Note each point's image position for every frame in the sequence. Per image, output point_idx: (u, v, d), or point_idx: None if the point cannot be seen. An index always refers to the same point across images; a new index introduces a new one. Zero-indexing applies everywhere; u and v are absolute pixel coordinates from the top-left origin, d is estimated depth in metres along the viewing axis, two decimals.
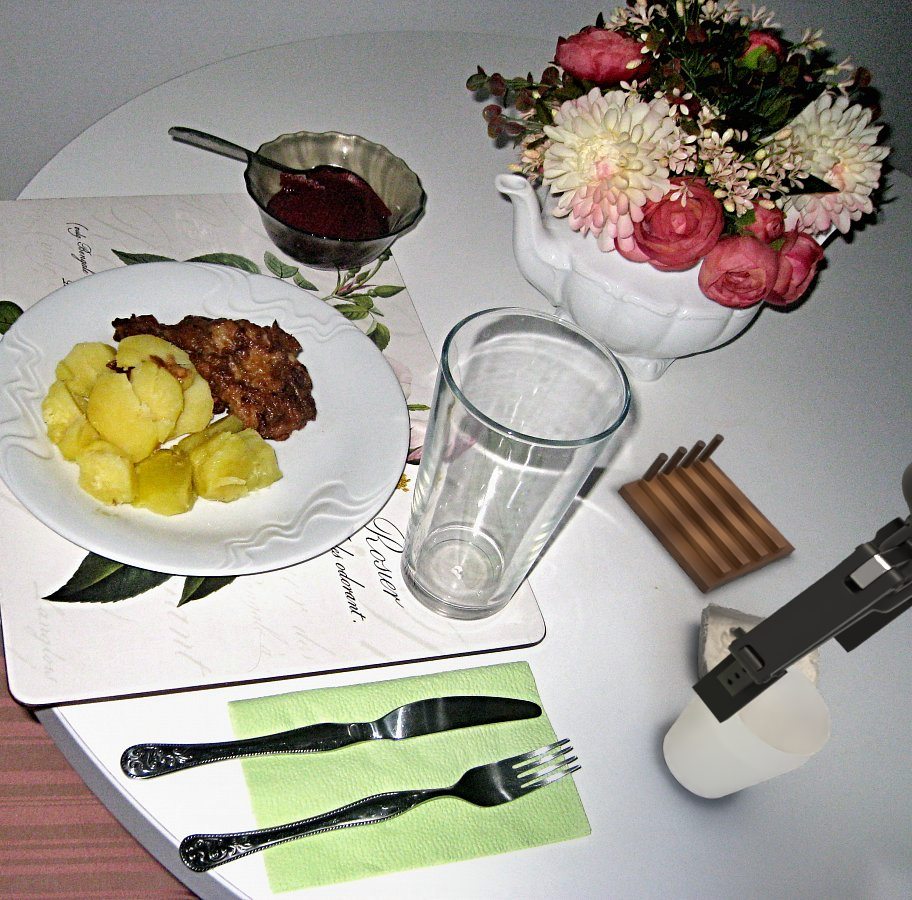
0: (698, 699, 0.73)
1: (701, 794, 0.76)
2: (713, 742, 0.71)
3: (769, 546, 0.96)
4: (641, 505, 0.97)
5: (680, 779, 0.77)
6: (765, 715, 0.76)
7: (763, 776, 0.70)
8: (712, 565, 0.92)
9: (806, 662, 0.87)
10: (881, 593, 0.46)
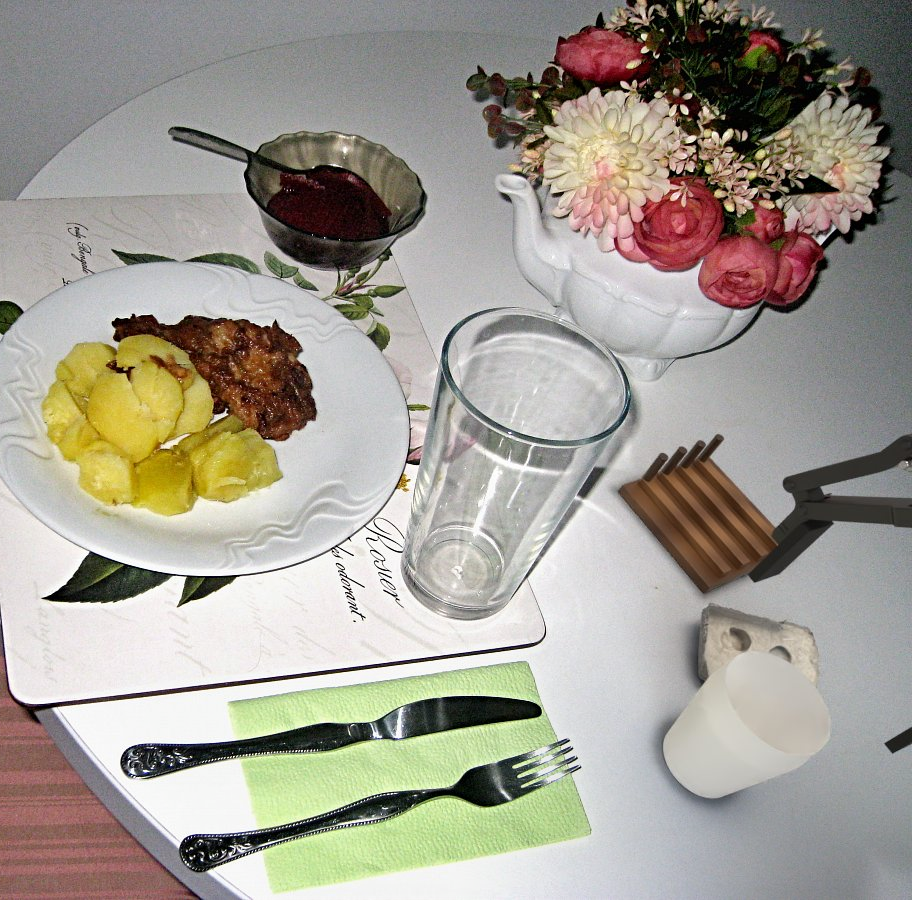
0: (698, 699, 0.73)
1: (701, 794, 0.76)
2: (713, 742, 0.71)
3: (769, 546, 0.96)
4: (641, 505, 0.97)
5: (680, 779, 0.77)
6: (765, 715, 0.76)
7: (763, 776, 0.70)
8: (712, 565, 0.92)
9: (806, 662, 0.87)
10: None
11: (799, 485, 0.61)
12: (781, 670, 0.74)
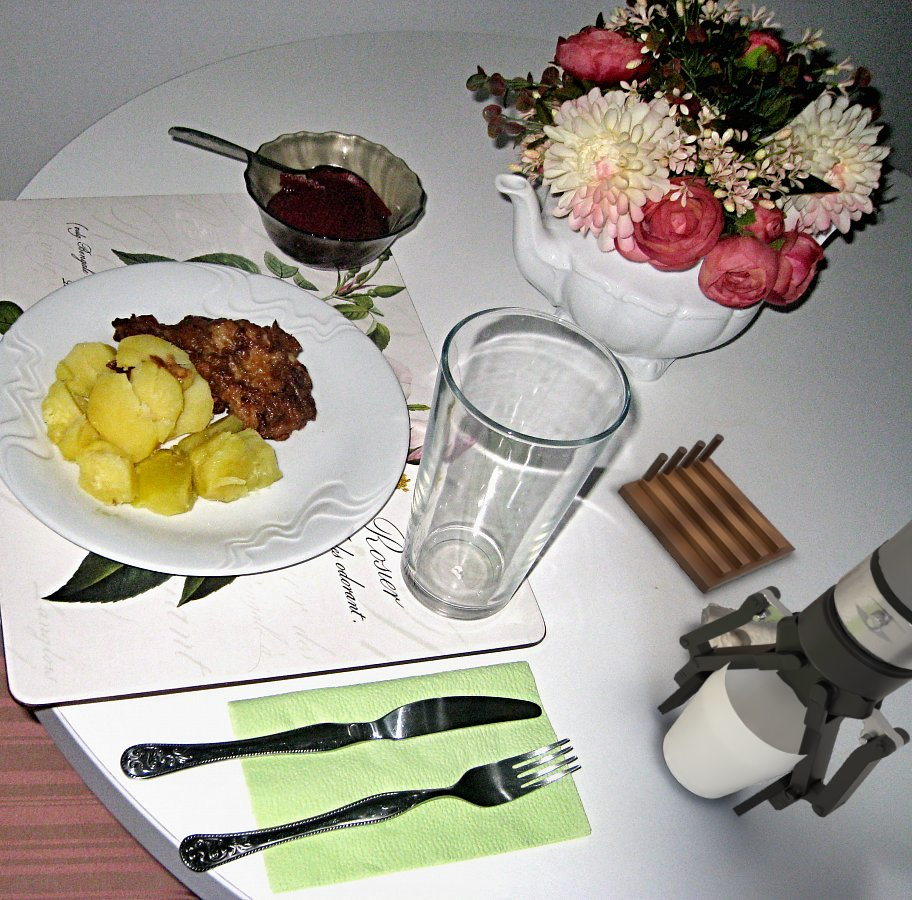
0: (698, 699, 0.73)
1: (701, 794, 0.76)
2: (713, 742, 0.71)
3: (769, 546, 0.96)
4: (641, 505, 0.97)
5: (680, 779, 0.77)
6: (765, 715, 0.76)
7: (763, 776, 0.70)
8: (712, 565, 0.92)
9: None
10: None
11: (691, 642, 0.75)
12: None
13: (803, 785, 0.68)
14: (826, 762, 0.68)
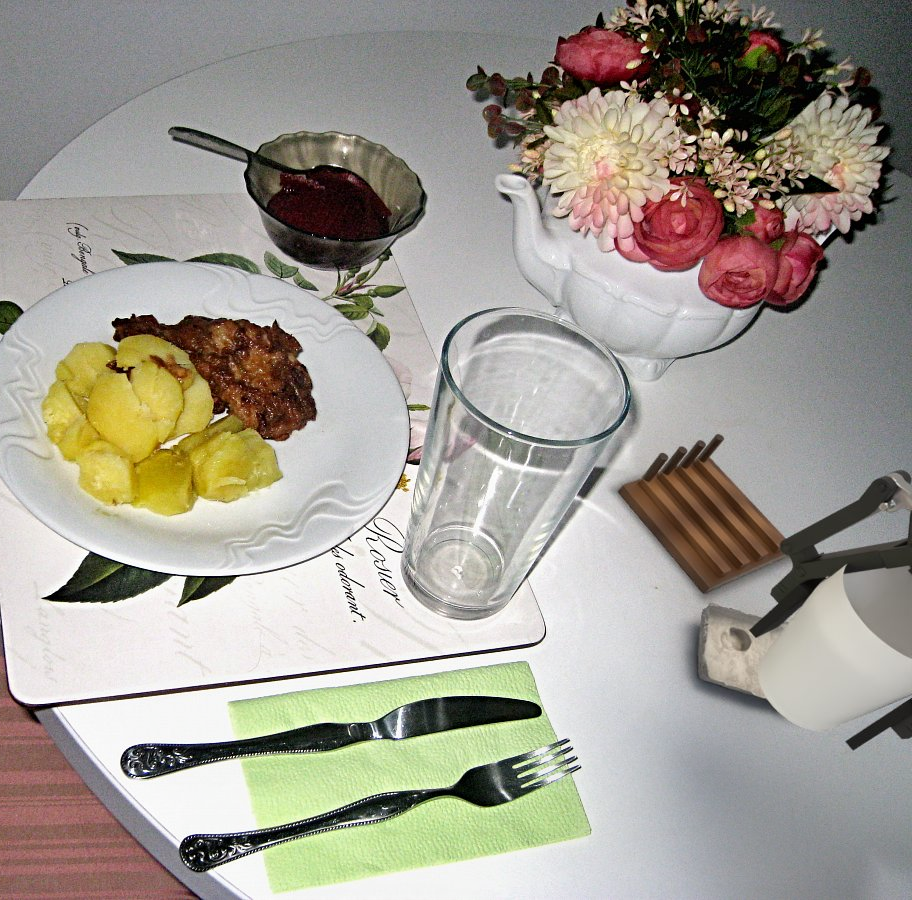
0: (806, 611, 0.63)
1: (806, 725, 0.65)
2: (829, 658, 0.60)
3: (769, 546, 0.96)
4: (641, 505, 0.97)
5: (780, 709, 0.66)
6: (880, 633, 0.66)
7: (889, 697, 0.60)
8: (712, 565, 0.92)
9: None
10: None
11: (795, 546, 0.64)
12: (902, 578, 0.63)
13: None
14: None
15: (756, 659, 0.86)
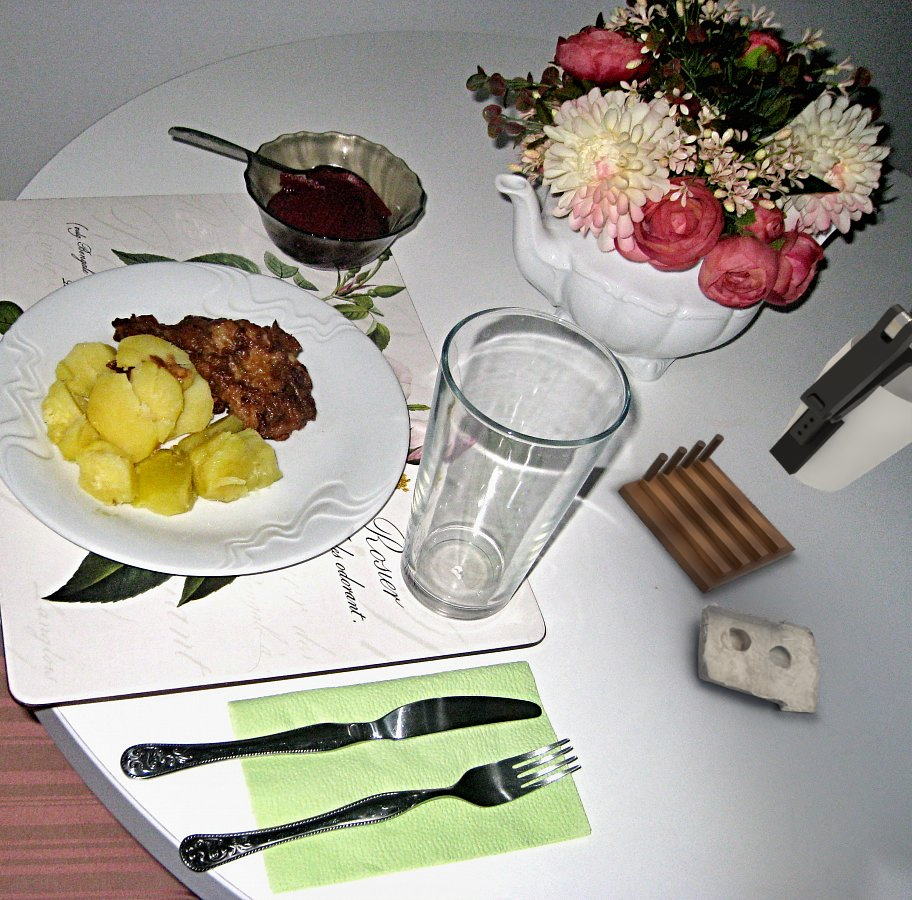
0: (869, 433, 0.71)
1: None
2: (909, 441, 0.71)
3: (769, 546, 0.96)
4: (641, 505, 0.97)
5: None
6: None
7: None
8: (712, 565, 0.92)
9: (806, 662, 0.87)
10: None
11: (835, 410, 0.69)
12: (841, 349, 0.73)
13: None
14: None
15: (756, 659, 0.86)
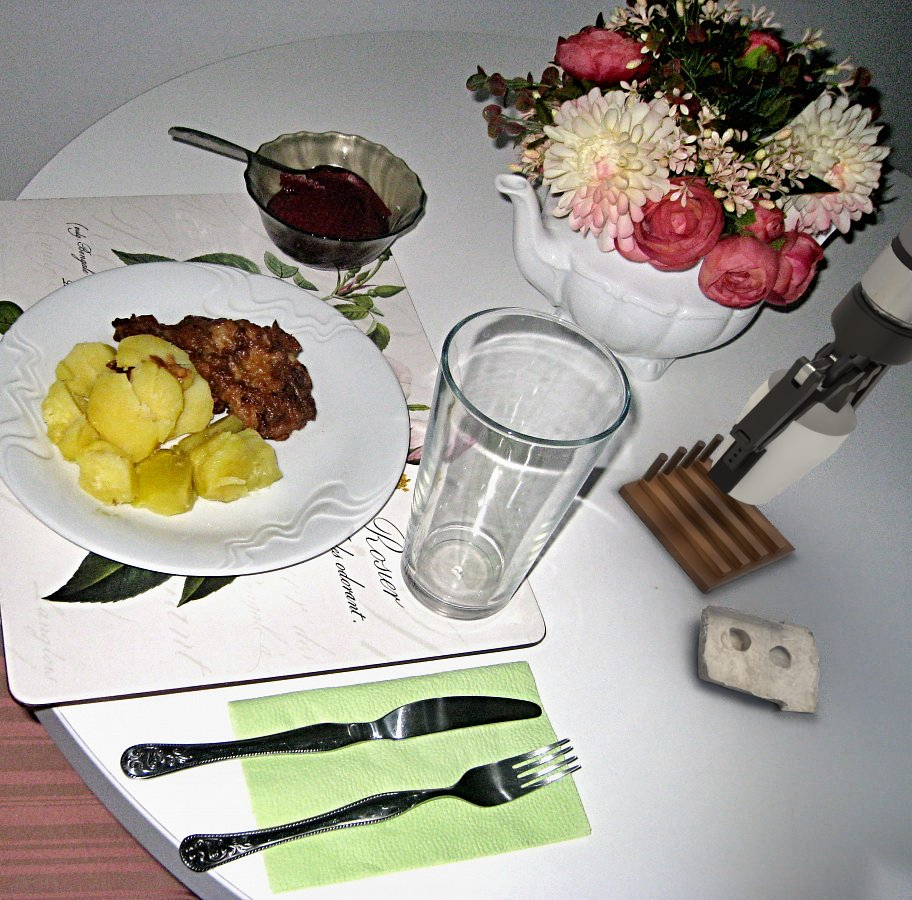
0: (787, 458, 0.84)
1: None
2: (820, 462, 0.85)
3: (769, 546, 0.96)
4: (641, 505, 0.97)
5: (770, 499, 0.91)
6: None
7: None
8: (712, 565, 0.92)
9: (806, 661, 0.87)
10: None
11: (759, 443, 0.82)
12: (760, 386, 0.86)
13: None
14: None
15: (756, 659, 0.86)
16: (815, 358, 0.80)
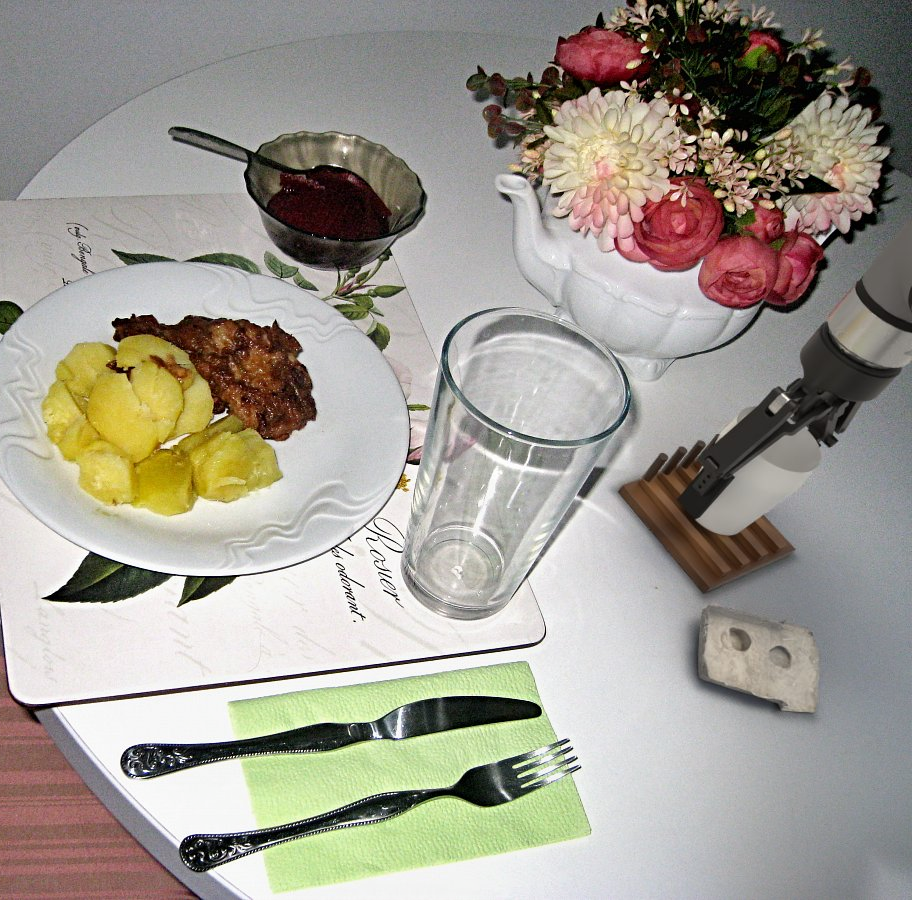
0: (755, 493, 0.88)
1: None
2: (787, 496, 0.89)
3: (769, 546, 0.96)
4: (641, 505, 0.97)
5: (741, 530, 0.95)
6: None
7: (793, 472, 0.92)
8: (712, 565, 0.92)
9: (806, 661, 0.87)
10: None
11: (726, 470, 0.83)
12: (730, 423, 0.90)
13: (831, 433, 0.91)
14: None
15: (756, 659, 0.86)
16: (786, 391, 0.83)
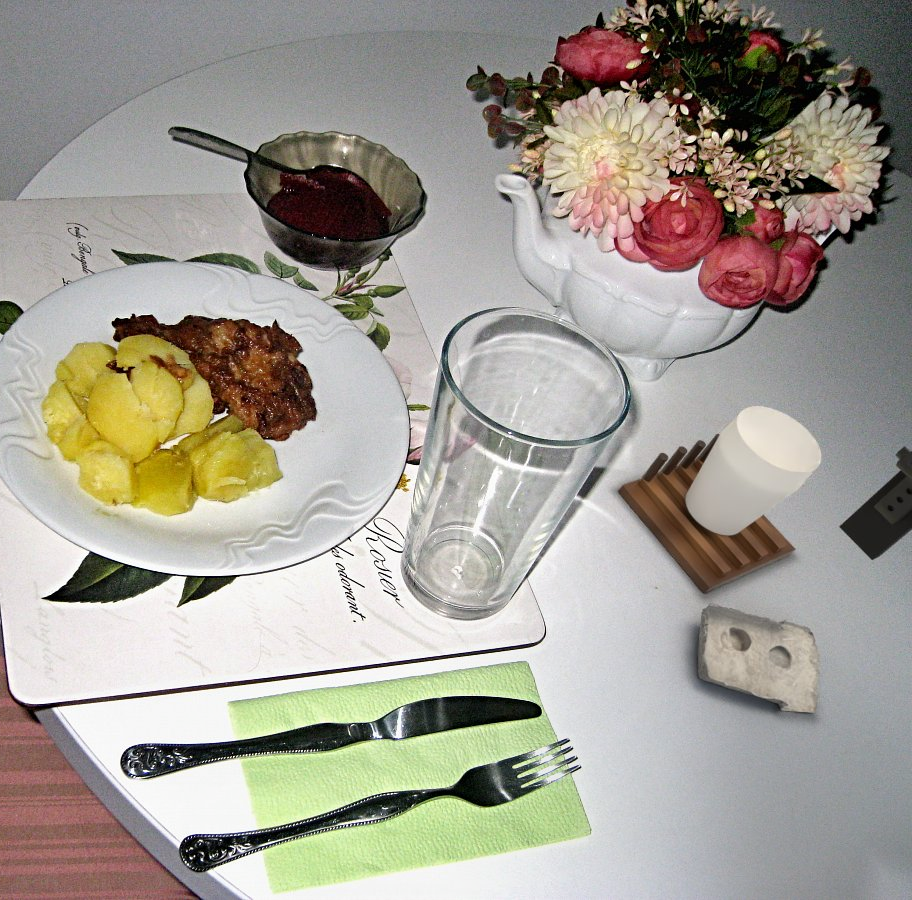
0: (755, 493, 0.88)
1: None
2: (787, 496, 0.89)
3: (769, 546, 0.96)
4: (641, 505, 0.97)
5: (741, 530, 0.95)
6: None
7: (793, 472, 0.92)
8: (712, 565, 0.92)
9: (806, 661, 0.87)
10: None
11: None
12: (730, 423, 0.90)
13: None
14: None
15: (756, 659, 0.86)
16: None
